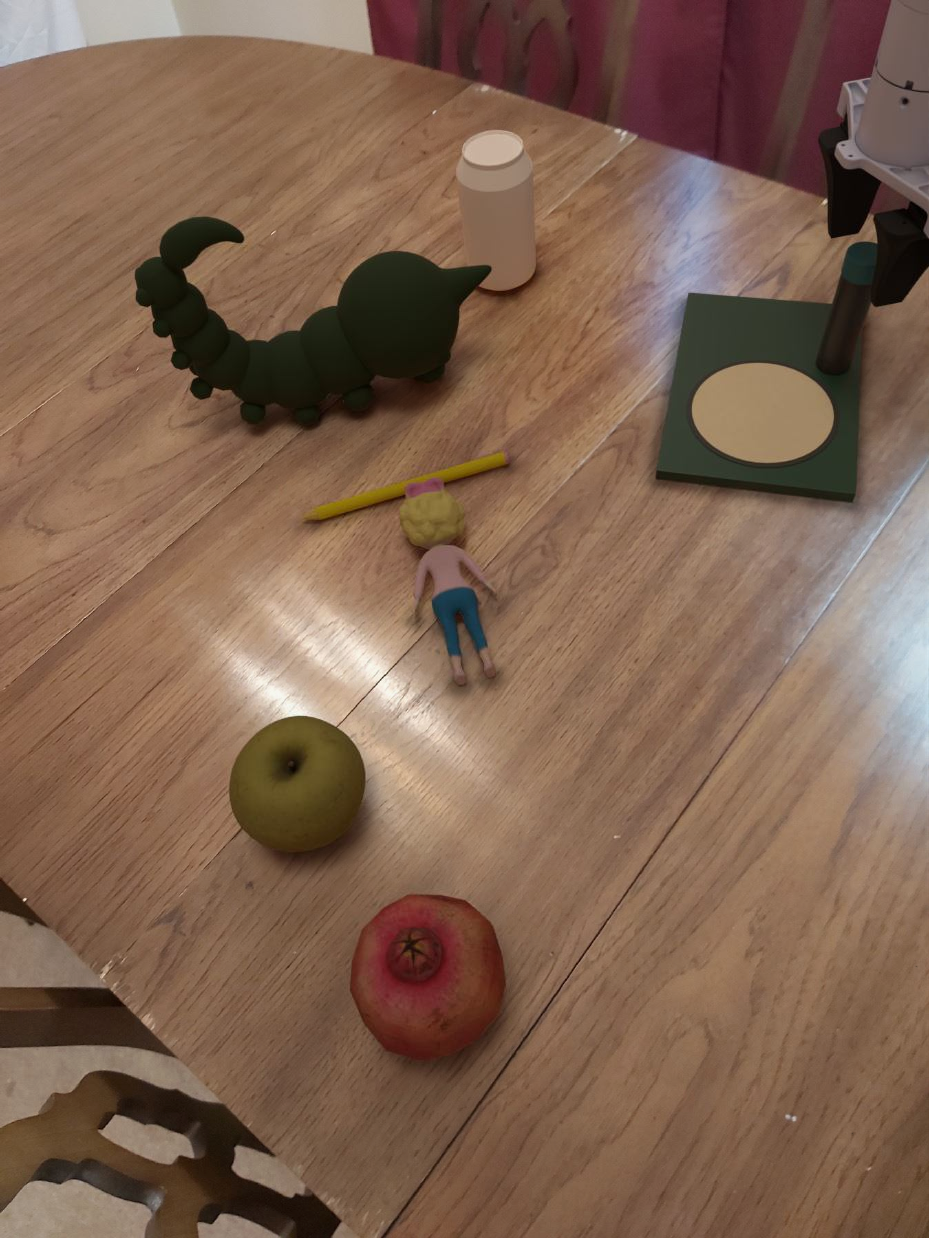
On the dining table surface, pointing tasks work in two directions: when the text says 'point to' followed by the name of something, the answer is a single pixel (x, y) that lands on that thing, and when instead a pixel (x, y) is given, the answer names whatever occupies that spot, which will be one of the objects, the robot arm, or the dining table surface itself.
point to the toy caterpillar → (308, 328)
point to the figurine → (445, 566)
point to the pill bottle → (848, 309)
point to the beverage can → (498, 208)
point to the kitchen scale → (760, 401)
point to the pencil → (399, 488)
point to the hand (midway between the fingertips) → (864, 266)
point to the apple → (297, 784)
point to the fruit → (427, 976)
